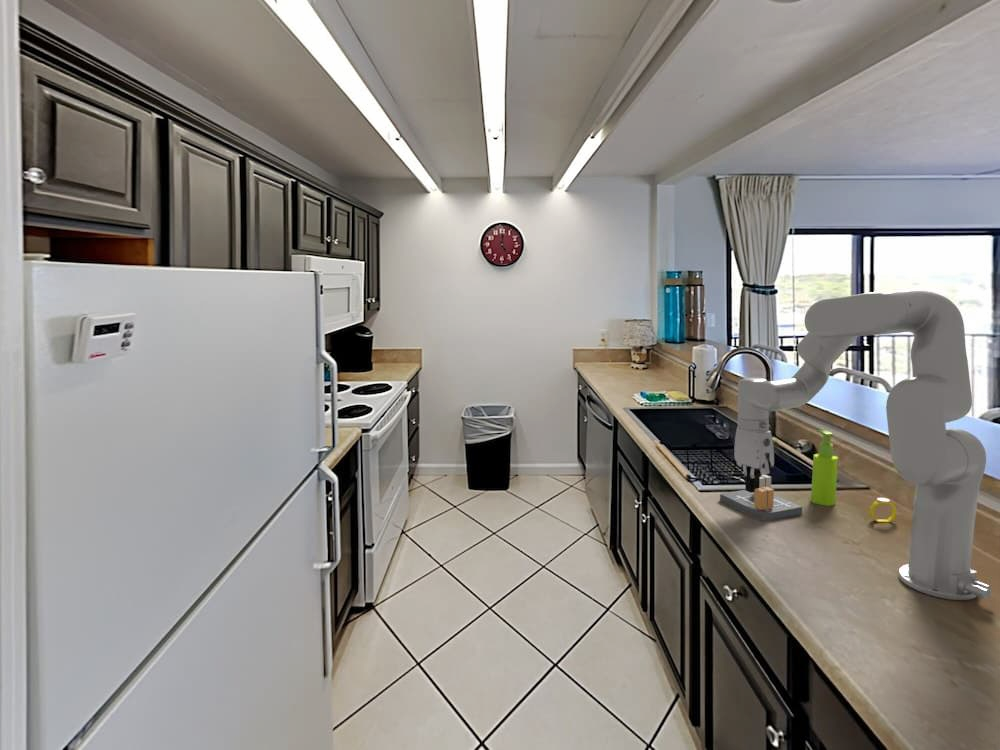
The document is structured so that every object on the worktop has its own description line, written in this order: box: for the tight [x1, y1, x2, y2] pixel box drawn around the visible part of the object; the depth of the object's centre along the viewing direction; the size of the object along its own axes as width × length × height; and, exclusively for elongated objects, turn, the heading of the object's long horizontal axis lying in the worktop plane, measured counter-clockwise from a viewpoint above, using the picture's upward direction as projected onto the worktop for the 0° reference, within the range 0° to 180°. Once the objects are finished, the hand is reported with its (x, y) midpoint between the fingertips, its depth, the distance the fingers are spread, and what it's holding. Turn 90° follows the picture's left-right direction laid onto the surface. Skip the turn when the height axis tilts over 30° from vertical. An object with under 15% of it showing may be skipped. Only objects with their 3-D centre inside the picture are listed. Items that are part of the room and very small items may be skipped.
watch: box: [868, 497, 898, 524], centre depth 141 cm, size 6×3×6 cm, turn 85°
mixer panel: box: [719, 489, 803, 522], centre depth 153 cm, size 16×13×2 cm
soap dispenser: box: [810, 429, 839, 507], centre depth 154 cm, size 6×7×20 cm
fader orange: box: [754, 487, 775, 510], centre depth 146 cm, size 2×4×5 cm, turn 108°
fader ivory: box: [753, 474, 772, 494], centre depth 156 cm, size 2×4×5 cm, turn 109°
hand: (752, 490), depth 150 cm, fingers closed
